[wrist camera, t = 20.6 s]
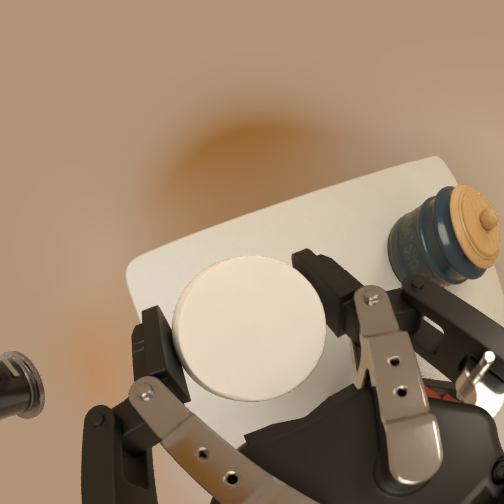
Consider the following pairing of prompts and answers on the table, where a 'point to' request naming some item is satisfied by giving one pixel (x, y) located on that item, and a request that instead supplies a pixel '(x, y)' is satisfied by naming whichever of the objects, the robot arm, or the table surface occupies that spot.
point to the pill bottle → (249, 328)
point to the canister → (446, 238)
